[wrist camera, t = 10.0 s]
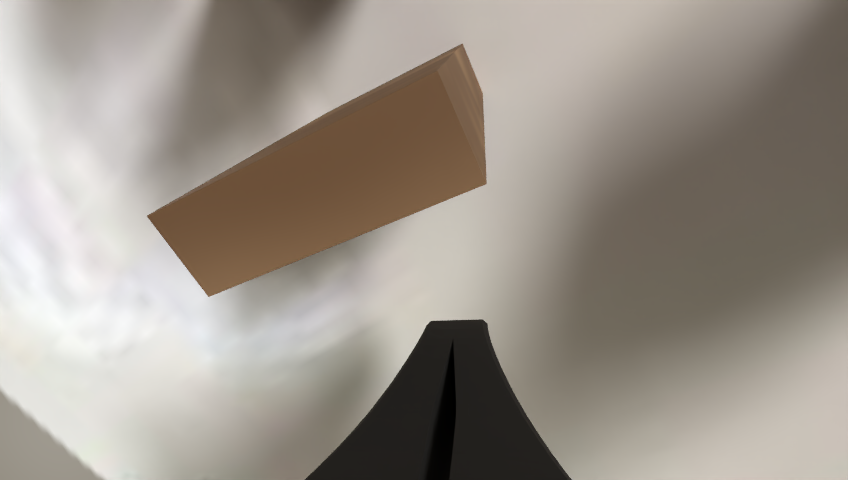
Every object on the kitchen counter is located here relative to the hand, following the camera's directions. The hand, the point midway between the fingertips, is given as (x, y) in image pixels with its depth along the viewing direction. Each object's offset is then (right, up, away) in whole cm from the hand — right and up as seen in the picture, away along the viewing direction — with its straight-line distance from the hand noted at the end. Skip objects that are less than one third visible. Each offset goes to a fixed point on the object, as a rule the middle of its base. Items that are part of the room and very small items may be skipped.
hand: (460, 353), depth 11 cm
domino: (-2, +7, +4) cm, 8 cm away
